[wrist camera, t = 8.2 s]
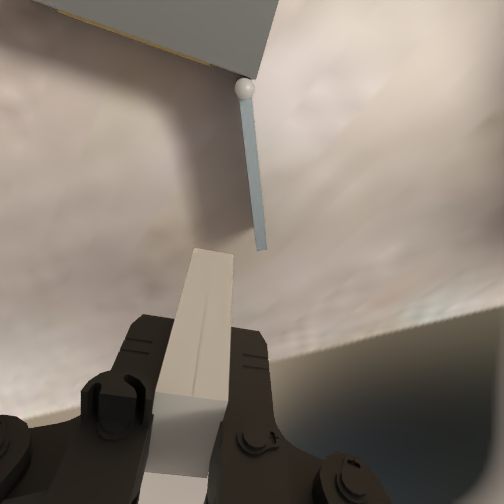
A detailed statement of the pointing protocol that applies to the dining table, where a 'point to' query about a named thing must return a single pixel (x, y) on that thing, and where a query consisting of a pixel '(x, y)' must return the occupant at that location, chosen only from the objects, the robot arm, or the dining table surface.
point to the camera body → (186, 27)
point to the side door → (251, 158)
